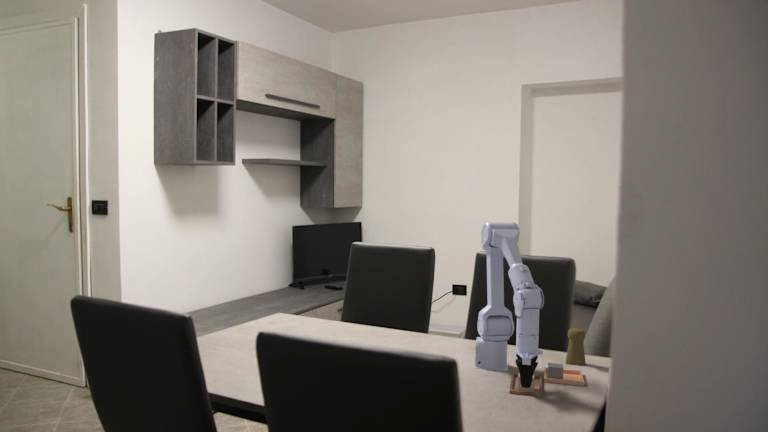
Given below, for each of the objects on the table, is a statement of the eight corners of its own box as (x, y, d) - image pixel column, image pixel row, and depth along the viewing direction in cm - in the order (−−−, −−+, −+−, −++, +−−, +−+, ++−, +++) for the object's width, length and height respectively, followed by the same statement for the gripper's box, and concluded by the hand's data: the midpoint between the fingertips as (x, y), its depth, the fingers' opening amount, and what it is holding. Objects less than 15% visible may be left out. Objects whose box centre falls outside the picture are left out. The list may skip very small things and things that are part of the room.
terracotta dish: (543, 383, 154) (544, 378, 154) (543, 372, 164) (543, 367, 164) (584, 387, 151) (584, 382, 151) (581, 375, 162) (581, 370, 161)
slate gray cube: (547, 376, 159) (547, 362, 159) (562, 378, 158) (562, 364, 158) (547, 380, 155) (548, 366, 155) (562, 382, 154) (563, 368, 154)
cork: (587, 367, 170) (588, 331, 169) (566, 366, 171) (567, 330, 171) (584, 361, 176) (585, 327, 175) (564, 360, 177) (565, 326, 177)
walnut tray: (509, 395, 144) (509, 390, 144) (511, 377, 159) (511, 373, 159) (542, 398, 142) (542, 394, 142) (541, 380, 157) (541, 375, 157)
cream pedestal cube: (517, 391, 146) (518, 376, 146) (518, 386, 150) (518, 372, 150) (533, 393, 145) (534, 378, 145) (533, 388, 149) (534, 373, 148)
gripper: (543, 341, 139) (542, 395, 139) (542, 328, 153) (541, 377, 153) (514, 339, 140) (513, 392, 141) (516, 326, 154) (515, 374, 155)
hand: (526, 384), depth 147 cm, fingers closed on cream pedestal cube, 4 cm apart
